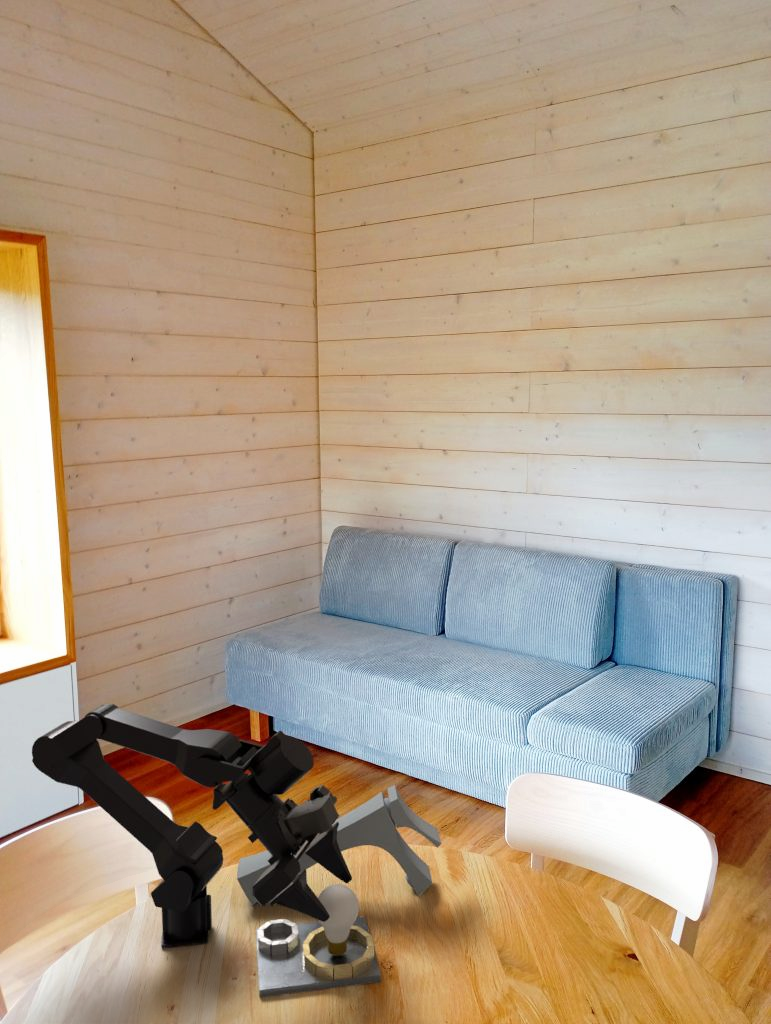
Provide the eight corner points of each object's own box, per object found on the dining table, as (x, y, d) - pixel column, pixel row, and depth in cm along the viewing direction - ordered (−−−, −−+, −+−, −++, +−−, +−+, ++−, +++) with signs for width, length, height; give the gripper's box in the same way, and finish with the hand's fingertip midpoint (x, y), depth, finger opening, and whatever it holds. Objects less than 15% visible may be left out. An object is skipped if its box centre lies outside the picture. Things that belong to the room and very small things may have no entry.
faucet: (285, 966, 132) (459, 879, 132) (235, 878, 129) (413, 790, 130) (286, 940, 138) (453, 858, 138) (239, 856, 135) (409, 772, 136)
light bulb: (367, 957, 117) (367, 889, 116) (331, 975, 113) (331, 905, 112) (342, 935, 122) (342, 870, 120) (307, 952, 118) (307, 885, 117)
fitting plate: (259, 997, 111) (259, 979, 110) (255, 935, 123) (255, 919, 123) (380, 981, 114) (380, 964, 113) (365, 922, 126) (364, 906, 126)
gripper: (273, 810, 107) (357, 907, 105) (325, 750, 124) (398, 833, 123) (217, 859, 110) (298, 954, 108) (276, 794, 128) (346, 875, 126)
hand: (339, 899), depth 116 cm, fingers open, 9 cm apart
